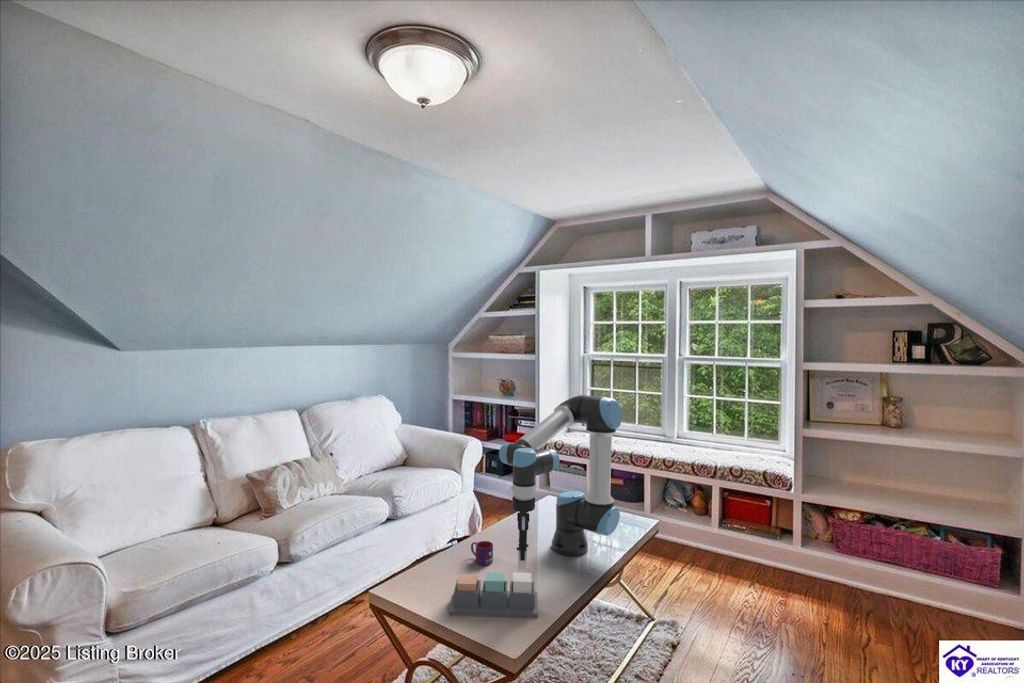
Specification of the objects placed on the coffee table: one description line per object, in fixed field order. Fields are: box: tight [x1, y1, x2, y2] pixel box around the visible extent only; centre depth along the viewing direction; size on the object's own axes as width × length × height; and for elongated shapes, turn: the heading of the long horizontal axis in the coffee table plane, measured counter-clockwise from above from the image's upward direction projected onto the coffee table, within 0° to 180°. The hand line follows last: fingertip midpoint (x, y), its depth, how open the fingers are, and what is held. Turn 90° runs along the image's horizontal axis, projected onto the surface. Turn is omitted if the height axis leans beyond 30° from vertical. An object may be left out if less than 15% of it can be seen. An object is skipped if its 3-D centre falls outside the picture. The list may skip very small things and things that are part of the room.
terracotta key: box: [457, 574, 479, 592], centre depth 158 cm, size 6×6×5 cm
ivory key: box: [512, 571, 533, 593], centre depth 158 cm, size 6×6×5 cm
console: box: [448, 579, 539, 619], centre depth 158 cm, size 28×13×6 cm, turn 89°
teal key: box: [484, 571, 505, 592], centre depth 158 cm, size 6×6×5 cm
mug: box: [470, 540, 494, 567], centre depth 189 cm, size 7×10×7 cm
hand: (522, 568), depth 157 cm, fingers closed
